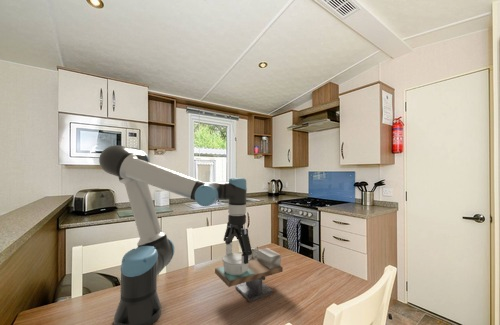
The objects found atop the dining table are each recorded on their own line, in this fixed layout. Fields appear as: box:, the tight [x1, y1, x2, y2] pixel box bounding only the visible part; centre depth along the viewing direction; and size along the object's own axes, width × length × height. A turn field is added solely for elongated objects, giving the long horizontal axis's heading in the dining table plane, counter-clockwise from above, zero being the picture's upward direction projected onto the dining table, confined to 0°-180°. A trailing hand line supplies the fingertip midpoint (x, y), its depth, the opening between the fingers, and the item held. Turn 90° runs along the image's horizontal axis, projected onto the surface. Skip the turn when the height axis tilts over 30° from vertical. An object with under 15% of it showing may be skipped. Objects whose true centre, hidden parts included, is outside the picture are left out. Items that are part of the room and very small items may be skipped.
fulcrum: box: [235, 278, 274, 303], centre depth 95 cm, size 12×12×7 cm
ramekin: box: [222, 252, 249, 276], centre depth 90 cm, size 11×11×5 cm
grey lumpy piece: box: [249, 246, 259, 261], centre depth 126 cm, size 9×8×10 cm
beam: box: [214, 247, 284, 288], centre depth 94 cm, size 27×15×8 cm, turn 123°
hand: (236, 264), depth 91 cm, fingers open, 13 cm apart
